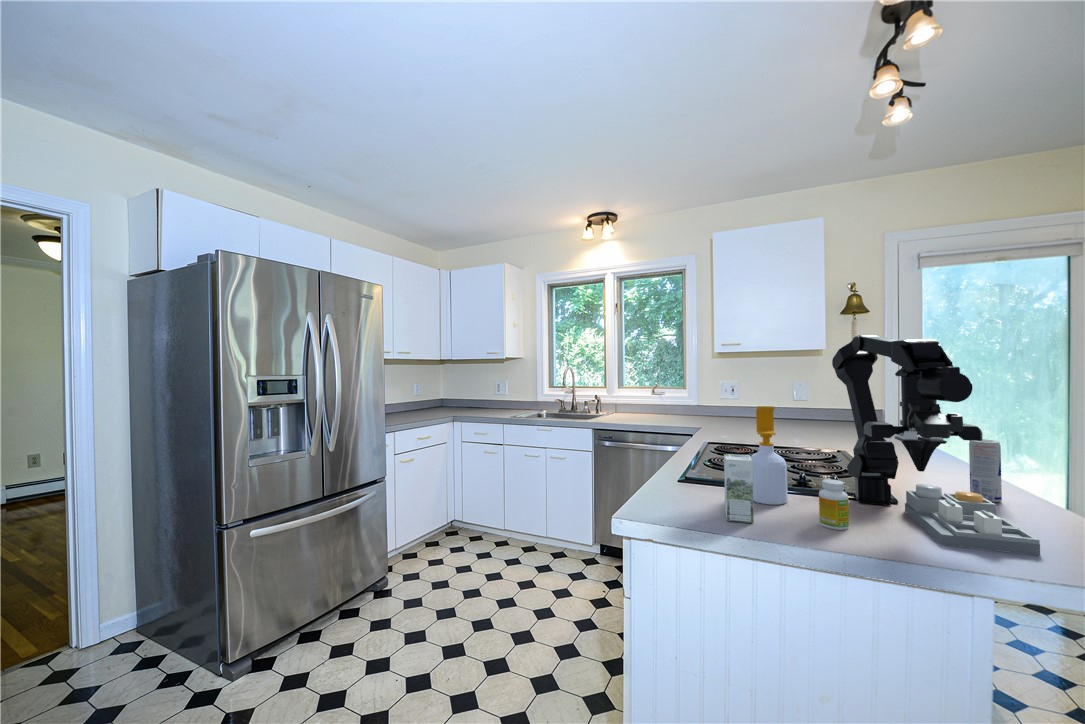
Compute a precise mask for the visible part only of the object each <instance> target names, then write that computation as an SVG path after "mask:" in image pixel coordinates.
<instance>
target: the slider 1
mask: <svg viewBox="0 0 1085 724" xmlns="http://www.w3.org/2000/svg"><path fill="white" fill-rule="evenodd" d="M939 516H940V517H941V518H943V519H944V520H947V521H958V522H963V508H962V507H961V506H960V505H958V504H957V503H955V502H954V501H950V500H947V499H945V501H942V500H939Z"/></svg>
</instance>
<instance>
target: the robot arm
mask: <svg viewBox="0 0 1085 724" xmlns="http://www.w3.org/2000/svg"><path fill="white" fill-rule="evenodd" d="M878 355H879V356H883V357H887V358H890V361H891V362H892V363H894V364H896V365H898V366H899V367H901V368H900V369H898V370H897V371H896V372H895V373H894V375H895V376H896V377H900V381H901V382H900V387H901V392H900V393H901V401H899V407H901V419H900V420H899V424H900V425H893V424H892V423H888V422H885V421H879V420H878V416H877V412H876V408H875V404H874V400H873V397H872V391H871V387H870V384H869V382H870V381H869V380H870V378H871V376H872V374H873V372H874V368H873V366H874V364H876V362H877V361H878V359H879V357H878ZM831 365H832V367H833V369H834V372H835V375H836V377H837V378H838V379H839V380H840V381H841V382H842V383H843V384H844V385H845V386H846V390H847V395H848V399H849V404H850V408H851V412H852V416H853V421H854V426H855V431H856V435H857V440H856V443H855V445H854V447H853V457H852V459H851V460H850V461H849V463H848V464H847V465H846V468H847V473H848V475H849V476H851V477H854V482H855V483H854V486H855V487H854V488H855V489H854V490H855V491H854V494H855V495H856V498H855V499H856V501H857V502H858V503H860V504H868V505H880V506H892V503H891V502H892V486H891V484H890V483H889V480H890V479H891V480H896V477H897V471H898V468H899V463H900V462H899V459H898V455H897V453H896V448H895V444H894V443H893V442H892V441H887V439H891V438H892V437H893V436H894V439H895V440H898V441H900V442H901V443H902V445H903V446H904V447H905V449H906V451H907V453H908V454H909V456H910V459H911V461H912V462H913V465H914V466H915V468H916V470H917V471H918V472H925V470H926V468H927V466H928V464H929V461H930V459H931V457H932V455H933V453H934V451H935V450H936V449H937V448H938V447H939V446H940V445H942V444H943V445H945V444H947V442H948V441H947V440H945V439H950V438H951V437H959V438H960V439H962V440H963V441H969V440H971V441H982V440H983V431H982V429H981V428H980V427H979V426H978V425H973V424H968V423H964V419H963V415H962V414H961V413H959V412H955V413H954V412H953V413H952V412H948V413H946V414H945V413H944V414H942V411H941V407H940V403H938V401H941V402H950V403H960V402H963V401H965V400H967V399H968V398H969V397H970V396H971V394H972V392H973V384H972V383H971V380H970V379H969V377H967V375H965V374H963V373H961V367H959V366H954V365H953V361H952V360H951V359H950V358H949V357H948V355H947V353H946V352H945V350H944V348H943V347H942V346H941V344H940V342H939V341H938V340H936V339H934V338H933V339H931V338H927V339H897V338H889V337H884V336H878V335H876V334H865V335H864V334H863V335H861V334H859V335H856V336H854V337H853V338H852V340H851V341H849V343H847V344H845V345H844V346H842V347H841V348H839V349H838V350H837V352H836V353H835V355H834V356H833V357H832V361H831Z"/></svg>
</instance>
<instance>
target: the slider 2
mask: <svg viewBox="0 0 1085 724" xmlns="http://www.w3.org/2000/svg"><path fill="white" fill-rule="evenodd" d="M1000 518H1001V517H999V516H997V515H996V516H995V515H994V514H992V513H991V512H986V511H985V510H981V512H980V511H974V529H975V530H977V531H978V532H980V533H985V534H995V535H1002V519H1000Z"/></svg>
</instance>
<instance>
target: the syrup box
mask: <svg viewBox="0 0 1085 724" xmlns="http://www.w3.org/2000/svg"><path fill="white" fill-rule="evenodd" d="M723 470H724V471H723V472H724V476H723V477H724V478H723V479H724V480H723V481H724V513H725V518H726V521H727V522H736V523H743V524H744V523H746V524H754V517H755V516H754V511H755V510H754V501H753V462H752V460H751V455H749V454H747V455H746V454H732V453H731V454H727V453H726V454H725V453H724V454H723Z"/></svg>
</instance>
